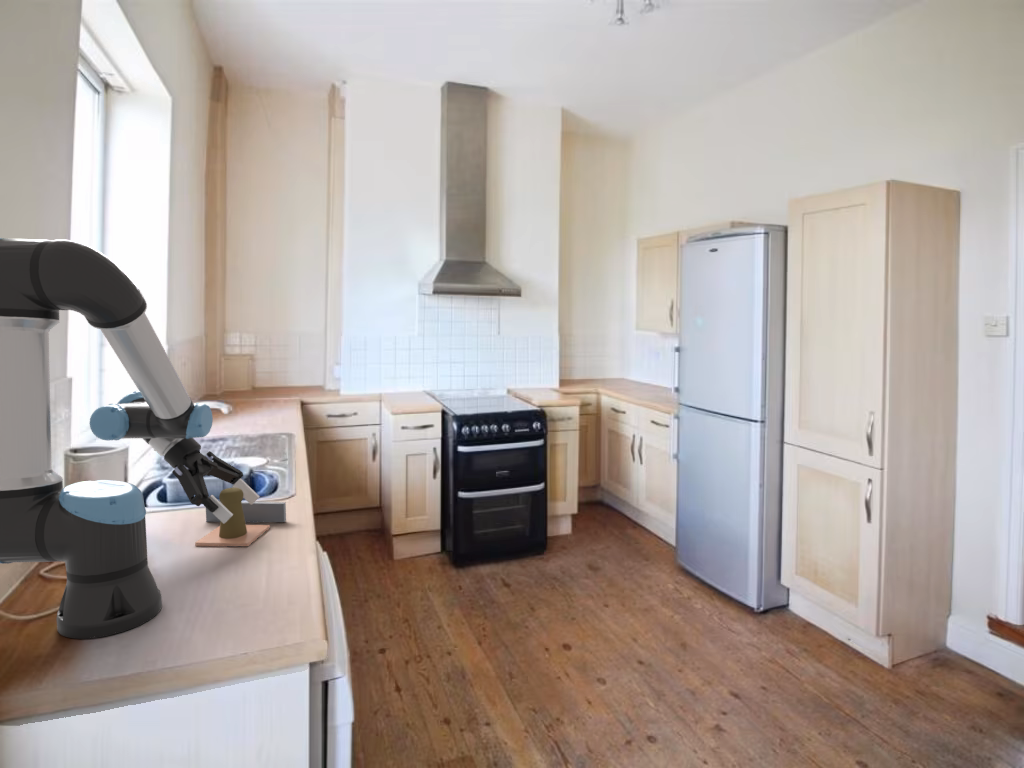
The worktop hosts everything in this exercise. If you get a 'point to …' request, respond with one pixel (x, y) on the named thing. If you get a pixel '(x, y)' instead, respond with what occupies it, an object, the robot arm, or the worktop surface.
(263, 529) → the terracotta tile
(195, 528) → the worktop surface
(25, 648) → the worktop surface
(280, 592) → the worktop surface
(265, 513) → the low wall
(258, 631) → the worktop surface
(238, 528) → the cork
